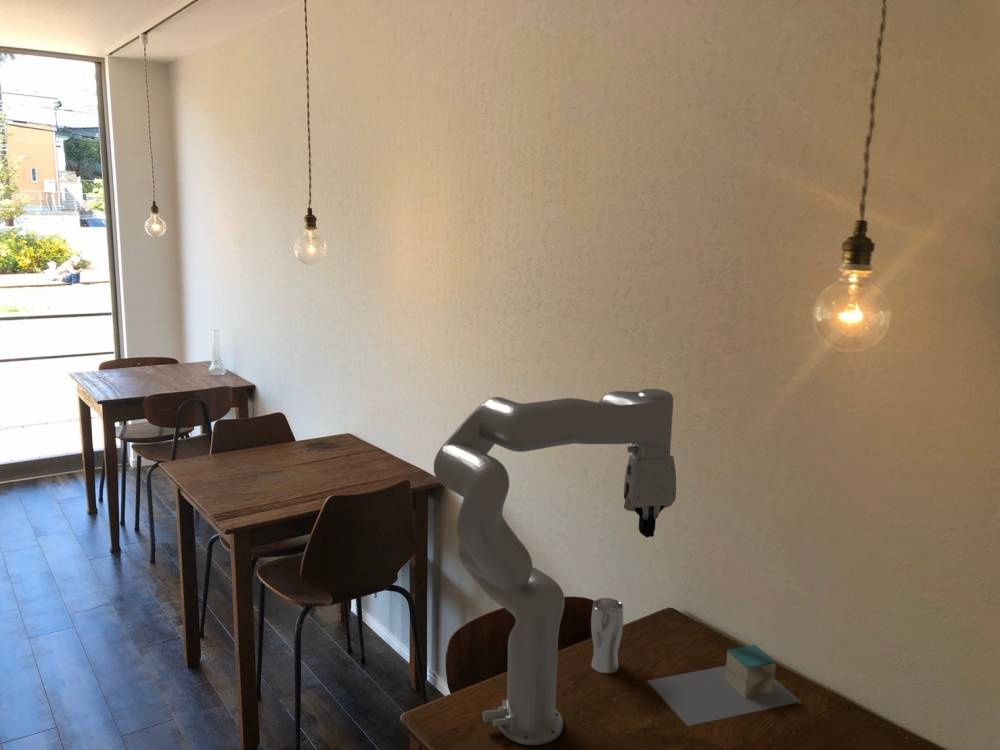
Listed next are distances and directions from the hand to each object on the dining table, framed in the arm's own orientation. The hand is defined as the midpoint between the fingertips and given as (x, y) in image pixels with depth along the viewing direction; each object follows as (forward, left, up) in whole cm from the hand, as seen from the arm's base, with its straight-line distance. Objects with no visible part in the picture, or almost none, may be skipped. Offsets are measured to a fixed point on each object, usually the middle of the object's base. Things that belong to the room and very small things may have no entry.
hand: (646, 534), depth 161 cm
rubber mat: (+14, -10, -33) cm, 37 cm away
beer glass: (-5, +6, -33) cm, 34 cm away
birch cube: (+21, -10, -26) cm, 35 cm away
